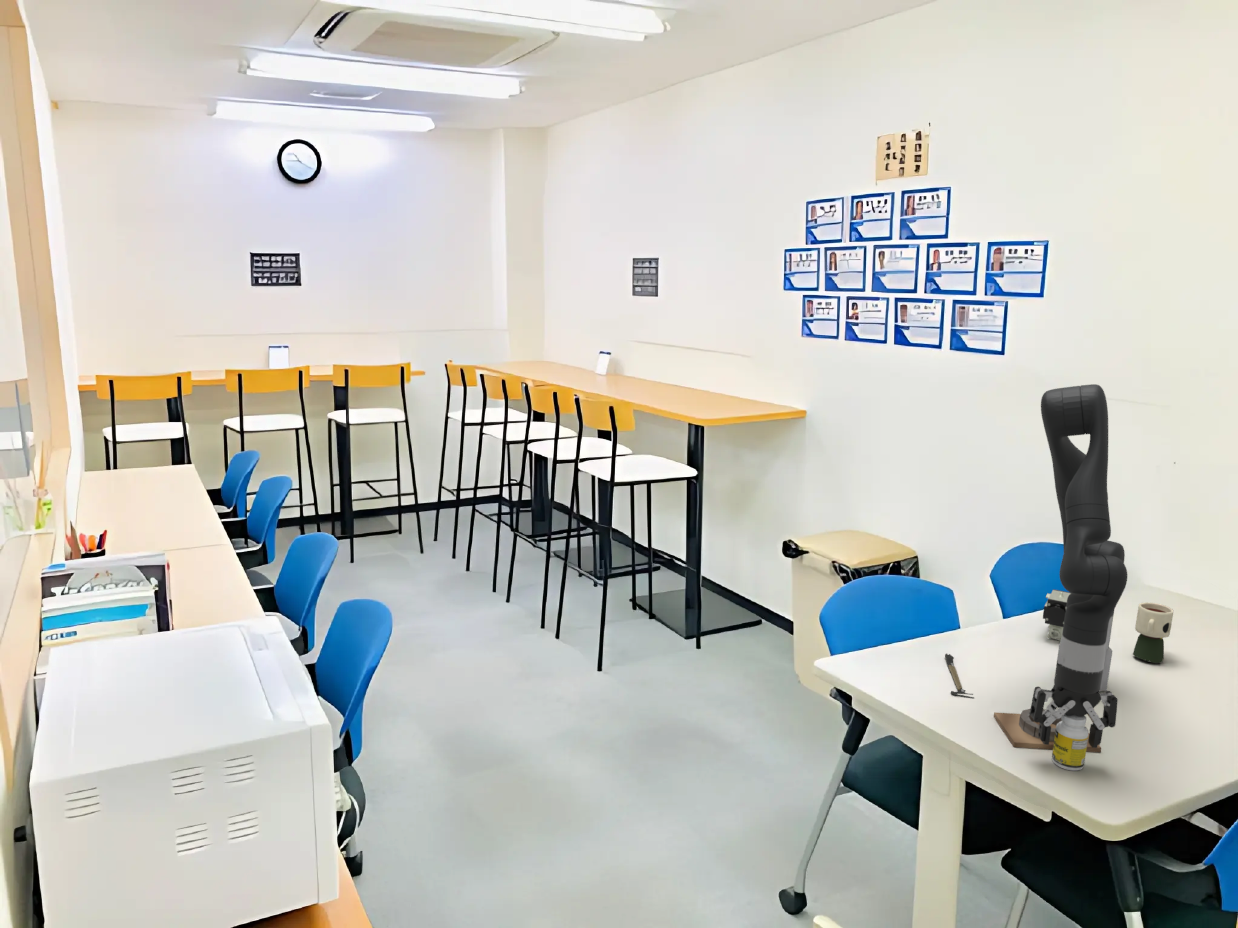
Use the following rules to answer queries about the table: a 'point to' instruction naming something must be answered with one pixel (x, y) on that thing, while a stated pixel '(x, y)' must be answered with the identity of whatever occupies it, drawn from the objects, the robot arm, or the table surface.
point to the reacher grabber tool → (955, 677)
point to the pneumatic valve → (1055, 613)
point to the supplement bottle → (1070, 742)
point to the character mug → (1152, 631)
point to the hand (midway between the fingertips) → (1068, 743)
